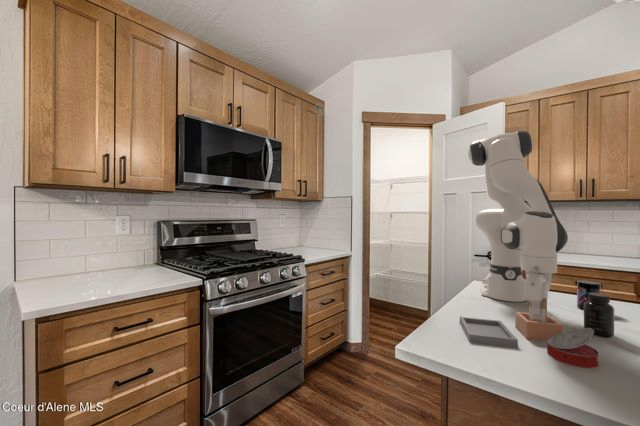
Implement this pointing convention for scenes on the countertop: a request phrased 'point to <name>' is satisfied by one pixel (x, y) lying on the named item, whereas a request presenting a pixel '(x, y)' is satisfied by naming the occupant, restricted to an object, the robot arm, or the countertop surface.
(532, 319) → the sprinkles bottle
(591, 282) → the supplement container
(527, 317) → the terracotta holder
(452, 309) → the countertop surface
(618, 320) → the countertop surface
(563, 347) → the canned food
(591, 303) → the supplement bottle
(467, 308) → the countertop surface
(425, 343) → the countertop surface
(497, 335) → the charcoal tray
